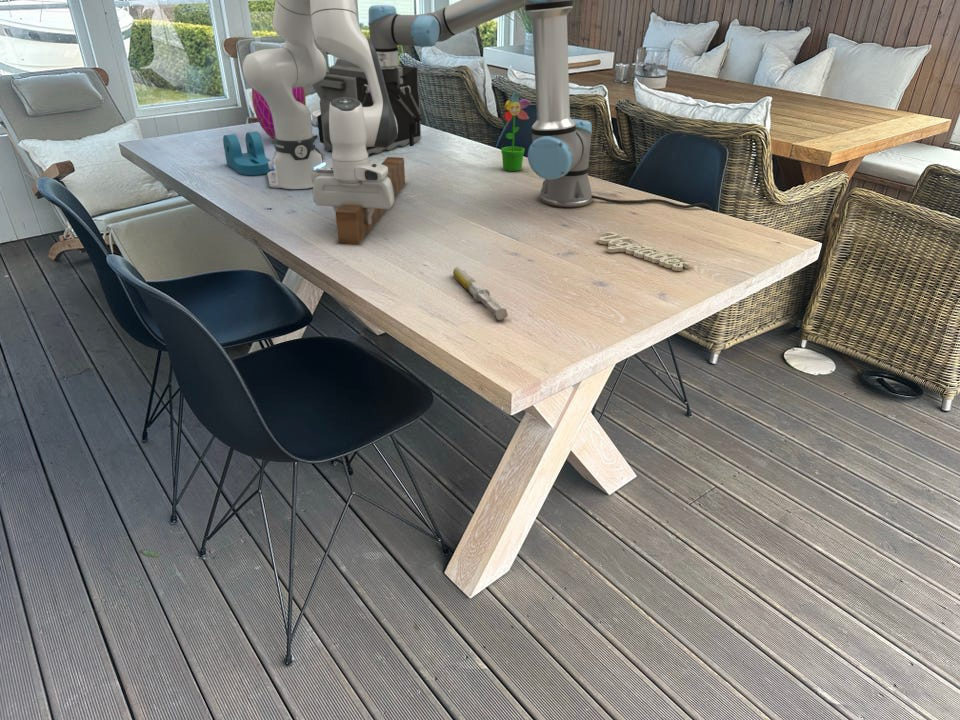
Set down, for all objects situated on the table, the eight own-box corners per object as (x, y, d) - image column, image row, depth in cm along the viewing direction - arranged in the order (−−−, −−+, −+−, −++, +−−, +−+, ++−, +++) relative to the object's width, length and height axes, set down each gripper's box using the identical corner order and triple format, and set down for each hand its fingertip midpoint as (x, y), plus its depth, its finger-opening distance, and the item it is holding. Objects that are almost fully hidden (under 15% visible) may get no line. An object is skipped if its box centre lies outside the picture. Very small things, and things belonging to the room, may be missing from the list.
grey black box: (383, 133, 276) (378, 52, 261) (425, 141, 265) (422, 56, 250) (314, 150, 251) (304, 61, 235) (358, 160, 240) (350, 67, 224)
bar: (389, 183, 217) (387, 156, 213) (405, 183, 216) (404, 157, 212) (338, 243, 171) (335, 211, 167) (358, 244, 171) (355, 212, 166)
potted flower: (506, 173, 227) (508, 93, 214) (495, 167, 233) (496, 89, 220) (530, 170, 231) (534, 91, 218) (519, 164, 237) (522, 87, 224)
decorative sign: (584, 239, 172) (609, 230, 178) (583, 243, 172) (609, 234, 178) (672, 271, 155) (697, 260, 161) (671, 275, 156) (696, 264, 161)
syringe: (449, 274, 155) (449, 263, 153) (465, 272, 156) (464, 260, 154) (490, 323, 135) (491, 310, 133) (508, 319, 136) (508, 307, 134)
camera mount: (227, 164, 233) (221, 132, 227) (257, 160, 238) (252, 129, 233) (244, 176, 220) (239, 143, 215) (276, 172, 225) (271, 139, 220)
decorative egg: (293, 132, 276) (283, 50, 261) (319, 140, 264) (310, 56, 249) (249, 139, 265) (236, 54, 250) (273, 148, 253) (261, 60, 238)
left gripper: (305, 170, 167) (312, 225, 174) (388, 174, 165) (391, 229, 172) (314, 164, 172) (320, 217, 179) (394, 167, 170) (397, 221, 177)
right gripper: (337, 67, 191) (344, 145, 201) (426, 70, 188) (428, 149, 199) (345, 64, 197) (351, 139, 208) (431, 66, 194) (433, 143, 205)
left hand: (355, 223), depth 176 cm, fingers closed on bar, 5 cm apart
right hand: (389, 144), depth 203 cm, fingers open, 13 cm apart
